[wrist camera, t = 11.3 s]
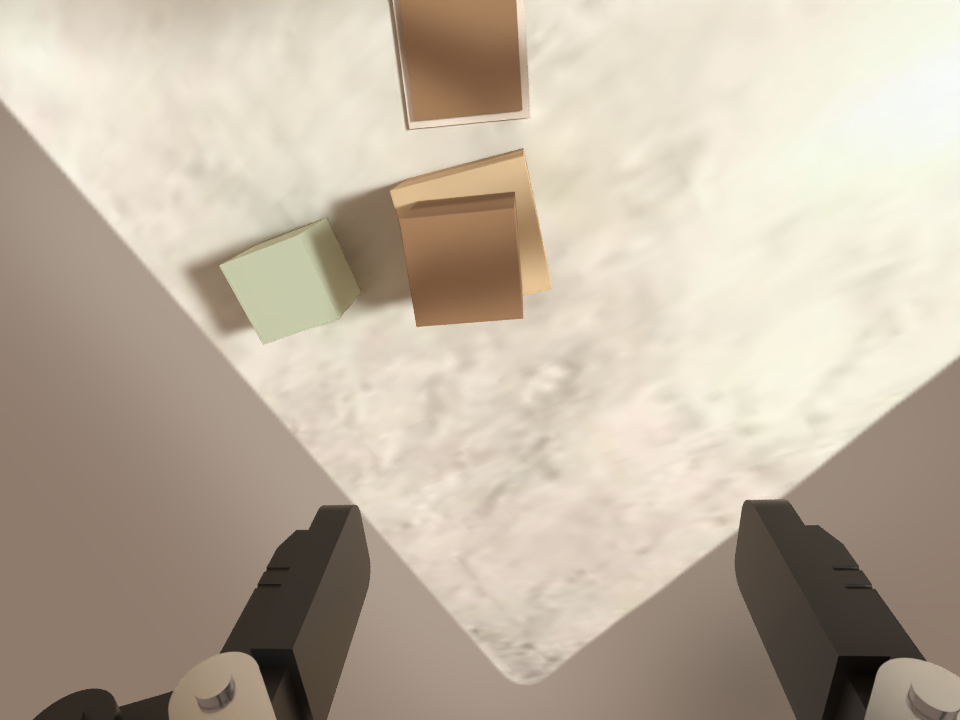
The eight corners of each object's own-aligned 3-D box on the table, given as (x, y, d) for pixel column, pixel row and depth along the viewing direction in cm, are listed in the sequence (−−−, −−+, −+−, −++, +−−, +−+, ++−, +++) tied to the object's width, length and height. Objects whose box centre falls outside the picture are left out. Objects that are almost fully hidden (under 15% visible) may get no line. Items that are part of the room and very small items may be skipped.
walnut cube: (417, 201, 29) (399, 219, 25) (515, 191, 29) (514, 208, 24) (431, 294, 31) (416, 326, 27) (522, 286, 31) (522, 318, 26)
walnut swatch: (391, -12, 30) (389, -14, 29) (522, -28, 29) (522, -30, 29) (410, 128, 32) (408, 129, 32) (530, 117, 32) (530, 117, 31)
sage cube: (257, 244, 36) (218, 265, 31) (327, 217, 35) (298, 235, 30) (294, 315, 38) (262, 344, 33) (361, 291, 37) (339, 318, 32)
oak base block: (407, 178, 34) (389, 190, 29) (523, 148, 33) (523, 156, 28) (439, 289, 37) (428, 316, 32) (548, 264, 35) (551, 289, 31)
